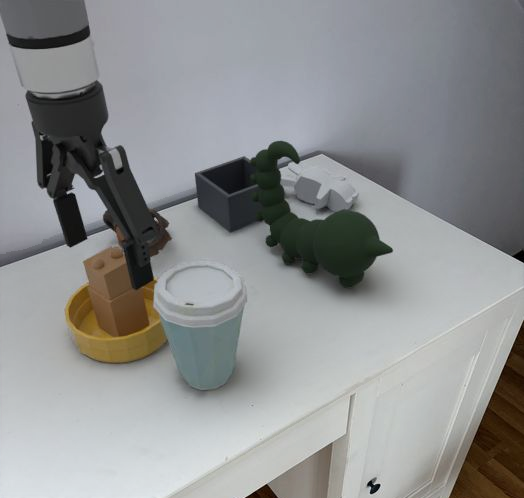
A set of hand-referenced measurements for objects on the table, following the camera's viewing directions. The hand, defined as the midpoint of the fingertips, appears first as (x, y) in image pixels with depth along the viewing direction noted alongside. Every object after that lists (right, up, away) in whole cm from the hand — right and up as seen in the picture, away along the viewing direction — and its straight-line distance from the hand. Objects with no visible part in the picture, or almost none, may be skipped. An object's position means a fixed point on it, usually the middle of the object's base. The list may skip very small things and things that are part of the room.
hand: (108, 262), depth 71 cm
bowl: (0, -8, +8) cm, 11 cm away
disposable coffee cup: (+13, -14, +2) cm, 19 cm away
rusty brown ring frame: (-1, +6, +22) cm, 23 cm away
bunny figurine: (+29, +16, +32) cm, 47 cm away
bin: (+15, +14, +30) cm, 36 cm away
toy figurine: (+28, +2, +18) cm, 33 cm away
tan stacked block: (0, -8, +8) cm, 11 cm away
